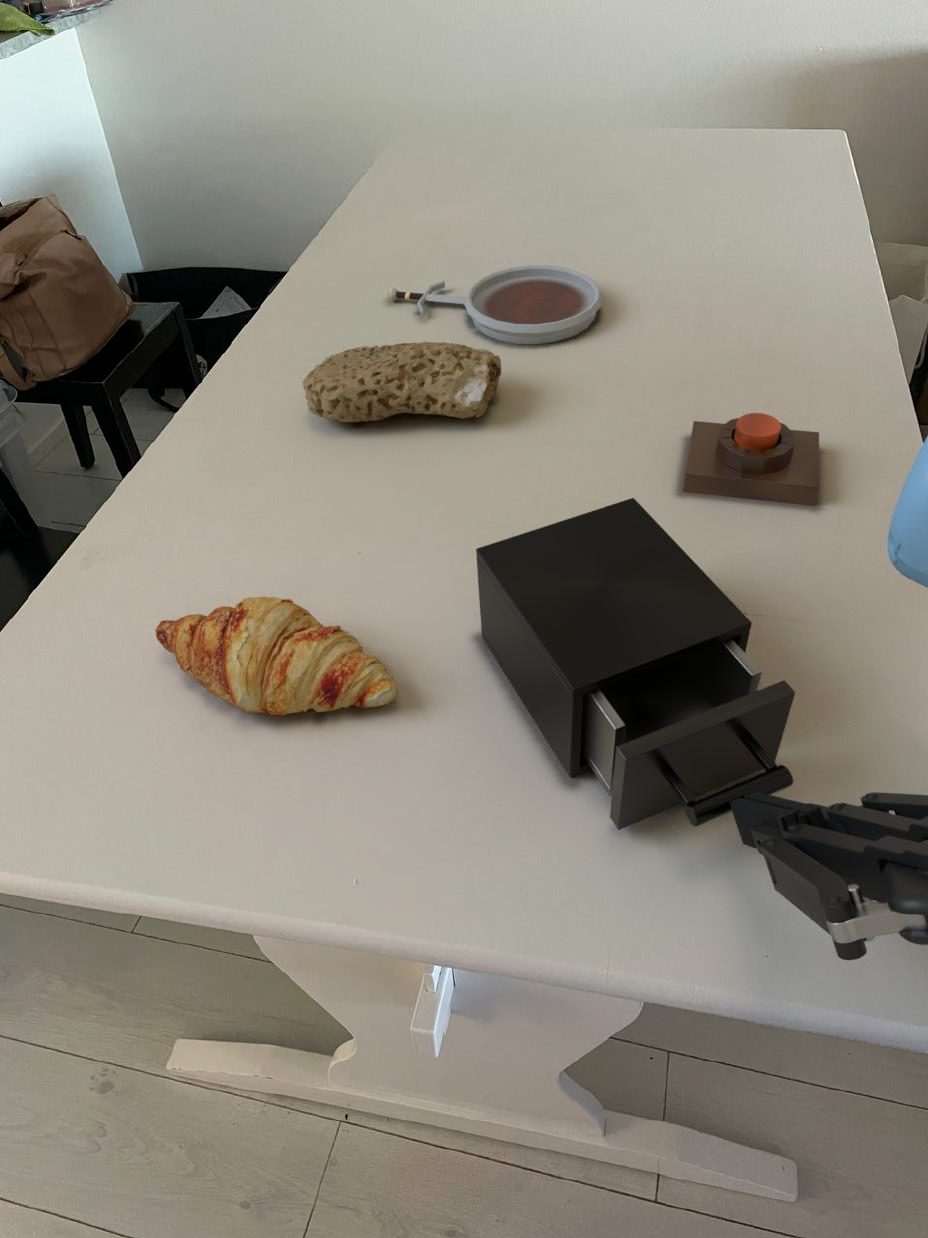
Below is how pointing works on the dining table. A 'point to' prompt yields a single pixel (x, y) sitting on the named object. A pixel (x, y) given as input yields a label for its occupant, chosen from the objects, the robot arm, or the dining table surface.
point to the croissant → (276, 659)
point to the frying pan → (524, 303)
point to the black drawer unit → (594, 612)
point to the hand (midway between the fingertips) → (748, 817)
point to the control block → (753, 465)
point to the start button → (757, 431)
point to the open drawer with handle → (686, 735)
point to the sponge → (403, 382)
